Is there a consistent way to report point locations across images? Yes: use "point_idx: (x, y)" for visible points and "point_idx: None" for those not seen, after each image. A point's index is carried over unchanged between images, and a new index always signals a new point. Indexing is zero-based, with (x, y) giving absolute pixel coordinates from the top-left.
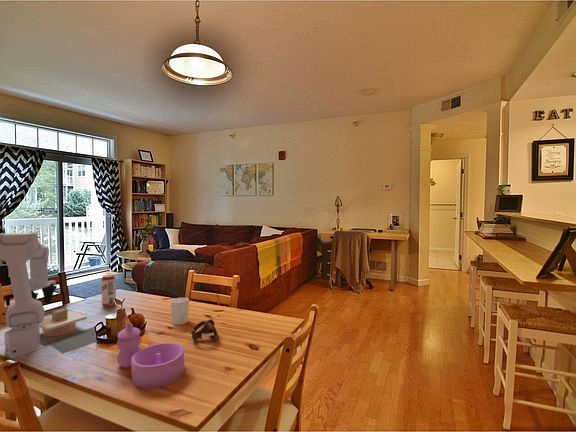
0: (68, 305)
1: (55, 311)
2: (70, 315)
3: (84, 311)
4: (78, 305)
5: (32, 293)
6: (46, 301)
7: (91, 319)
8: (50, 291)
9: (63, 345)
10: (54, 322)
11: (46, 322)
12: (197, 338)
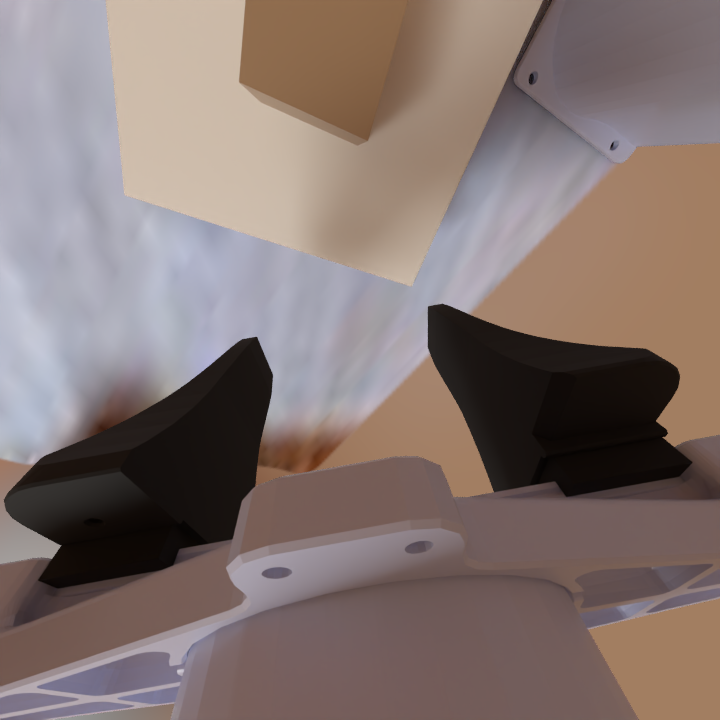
0: (54, 446)
1: (366, 62)
2: (203, 13)
3: (3, 290)
4: (4, 409)
5: (594, 428)
6: (264, 374)
7: (10, 28)
8: (201, 429)
9: None
10: (424, 5)
11: (428, 123)
12: None
